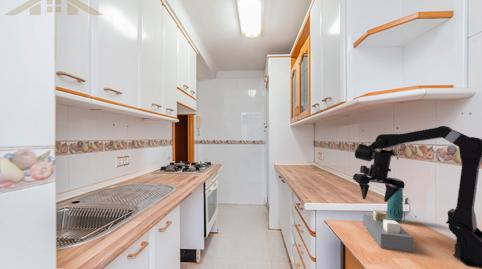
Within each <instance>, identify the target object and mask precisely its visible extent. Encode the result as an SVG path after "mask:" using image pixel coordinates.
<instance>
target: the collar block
mask: <svg viewBox="0 0 482 269" xmlns="http://www.w3.org/2000/svg"><path fill="white" fill-rule="evenodd" d="M387 220H393V219H391V218H389V217H387ZM363 225H364V226H365V227H366V229H367V230H368V231H367V230H366V229H365V230H366V231H367V233H368V234H369V233H370V234H371V235H370V234H369V235H370V236H371V238H372V239H373V238H374V239H373V240H374V241H375V243H376V244H377V245H378V246H379V248H381V249H385V250H386V249H388V250H392V251H393V250H395V251H400V252H401V251H403V252H410V253H414V250H415V249H414V248H415V246H414V245H415V244H414V241H415V240H414V239H415V238H414V236H413V235H412V234H410V233H409V232H407V230H405V229H404V228H403V227H401V226H400V233H392V232H386V231H385V230H384V229H383V221H375V220H374V219H373V214H362V226H363ZM364 226H363V227H364ZM365 227H364V228H365Z"/></svg>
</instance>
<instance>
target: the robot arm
mask: <svg viewBox="0 0 482 269" xmlns="http://www.w3.org/2000/svg"><path fill="white" fill-rule="evenodd" d="M437 139H444V140H445V141H448V142H449V143H452V144H453V145H455V146H456V147H458V148H459V158H460V161H461V171H460V179H459V184H458V185H459V186H458V193H457V194H458V195H457V200H456V201H457V202H456V207H455V209H454V208H451V209H449V210H448V211H447V221H446V222H445V224H446V225H448V230H449V231H450V232H451V233H452V234H453V235H454V236H455V237H456V243H454V253H453V254H452V256H453V257H455V258H456V259H458V261H460V262H461V263H463V264H464V265H466V266H467V267H468V266H469V267H477V268H482V230H481V229H479V227H478V225H477V216H476V213H475V202H476V197H477V196H476V195H477V189H478V180H479V174H480V166H481V164H482V138H480V137H473V136H468V135H466V134H464V133H461V132H460V131H456V130H455V129H453V128H451V127H450V126H447V125H440V126H438V127H432V128H427V129H423V130H422V129H421V130H415V131H410V132H405V133H385V134H383V133H381V134H378V135H377V137H376V138H375V141H373V142H372V143H371V144H370V145H367V144H362V143H359V144H358V147H356V149H355V151H354V157H355V159H357V160H362V161H365V162H371V161H373V163H372V164H371V165H370V167H367V165H360V168H359V173H358V172H357V173H354V174H353V175H352V180H354V181H355V183H357V184H358V185H359V187H360V192H361V196H362V197H361V198H362V199H363V200H366V198H367V197H368V196H367V195H368V192H369V188H370V184H369V183H377V184H384V185H385V193H384V199H383V202H384V203H388V200H389V199H390V198H391V197H392V196H393V195H394V194H395V193H396V192H397V191H398V190H401V189H400V188H402V189H403V190H404V189H405V185H406V184H405V182H404V181H403V180H401V179H399V178H396V177H389V172H392V168H390V166H391V165H390V164H391V161H392V157H397V156H399V154H398V153H397V152H396V151H395V149H393V148H396V147H399V146H402V145H404V144H408V143H409V144H410V143H415V142H417V143H418V142H424V141H428V140H437ZM386 149H390V150H386ZM379 150H380V151H379Z"/></svg>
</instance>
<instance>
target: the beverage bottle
mask: <svg viewBox="0 0 482 269" xmlns="http://www.w3.org/2000/svg"><path fill="white" fill-rule="evenodd" d="M400 189H401V190H398V191H397V192H396V193H395V194H394V195H393V196H392V197H391V198H390V199H389V200H388V201H387V202H386V203H387V206H386V214H387V217H389V218H390V219H392V220H394V221H396V220H397V221H402V220H403V218H404V216H403V215H404V202H403V201H404V193H403V192H404V189H403V188H400Z"/></svg>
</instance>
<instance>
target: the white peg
mask: <svg viewBox="0 0 482 269" xmlns="http://www.w3.org/2000/svg"><path fill="white" fill-rule="evenodd" d="M400 227H401V224H400V223H399V222H397V221H396V220H395V219H392V220H384V219H383V229H384V230H385V231H386V232H392V233H400Z"/></svg>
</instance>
